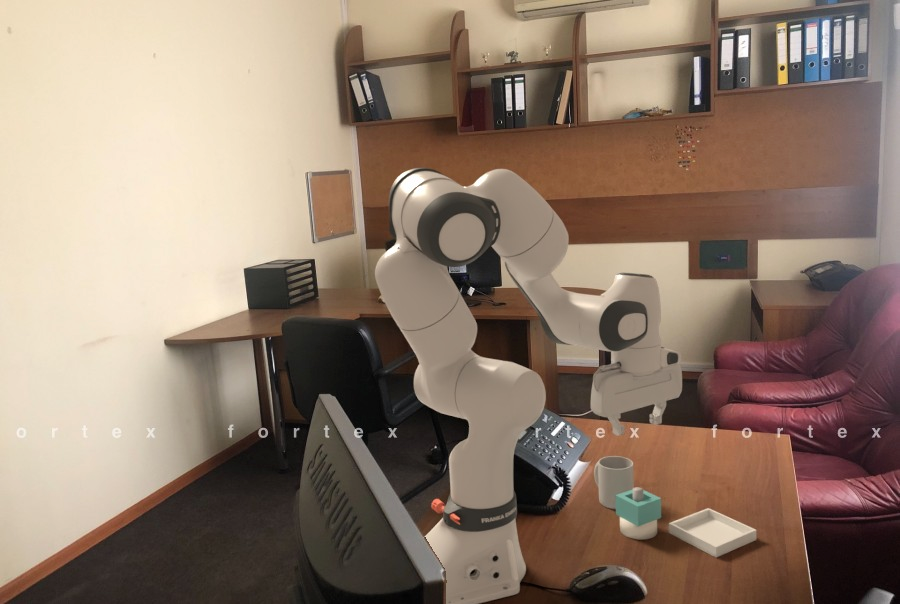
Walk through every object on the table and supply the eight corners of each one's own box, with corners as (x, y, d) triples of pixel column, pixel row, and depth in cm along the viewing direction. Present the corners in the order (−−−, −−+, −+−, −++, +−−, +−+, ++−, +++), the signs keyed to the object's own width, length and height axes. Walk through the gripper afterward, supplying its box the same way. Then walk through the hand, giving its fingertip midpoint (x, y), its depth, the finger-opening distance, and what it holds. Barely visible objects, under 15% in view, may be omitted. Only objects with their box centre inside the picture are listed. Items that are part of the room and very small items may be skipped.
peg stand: (638, 543, 130) (637, 500, 128) (612, 528, 136) (611, 487, 134) (665, 532, 133) (664, 491, 132) (638, 518, 139) (638, 478, 138)
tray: (715, 557, 123) (715, 547, 123) (668, 532, 133) (668, 523, 133) (756, 539, 129) (756, 529, 128) (708, 517, 138) (708, 508, 138)
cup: (615, 513, 142) (614, 472, 141) (583, 496, 151) (582, 457, 149) (641, 504, 145) (640, 463, 144) (608, 487, 154) (607, 449, 153)
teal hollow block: (638, 526, 130) (637, 506, 129) (610, 511, 136) (609, 492, 136) (661, 517, 133) (661, 498, 132) (632, 503, 139) (632, 484, 139)
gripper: (605, 371, 121) (607, 446, 124) (687, 352, 131) (688, 421, 133) (582, 364, 127) (584, 436, 129) (662, 346, 136) (663, 413, 139)
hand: (637, 428), depth 131 cm, fingers open, 8 cm apart
